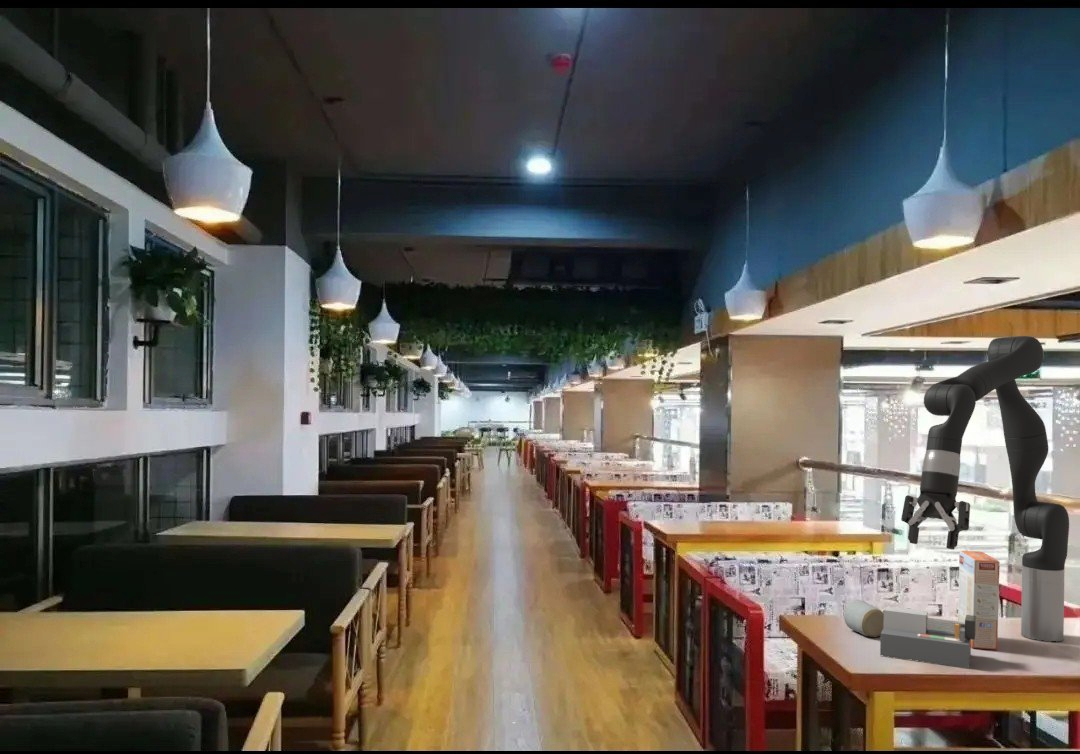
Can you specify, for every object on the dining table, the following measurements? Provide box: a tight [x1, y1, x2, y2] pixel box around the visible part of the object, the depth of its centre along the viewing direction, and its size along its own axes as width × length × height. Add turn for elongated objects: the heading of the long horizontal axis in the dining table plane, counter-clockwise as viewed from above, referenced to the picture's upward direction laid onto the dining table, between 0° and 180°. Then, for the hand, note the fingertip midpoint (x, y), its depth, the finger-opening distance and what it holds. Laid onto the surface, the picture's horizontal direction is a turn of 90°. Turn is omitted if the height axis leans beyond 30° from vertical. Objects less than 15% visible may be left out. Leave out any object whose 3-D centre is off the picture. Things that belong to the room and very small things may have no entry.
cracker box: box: [957, 550, 1000, 651], centre depth 221 cm, size 14×6×21 cm, turn 168°
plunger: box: [926, 615, 976, 641], centre depth 206 cm, size 9×11×4 cm
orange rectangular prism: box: [955, 624, 959, 639], centre depth 202 cm, size 1×1×3 cm
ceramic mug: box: [843, 599, 884, 638], centre depth 226 cm, size 11×8×8 cm
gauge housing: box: [879, 605, 972, 669], centre depth 208 cm, size 12×18×9 cm, turn 63°
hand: (931, 546), depth 200 cm, fingers open, 8 cm apart
